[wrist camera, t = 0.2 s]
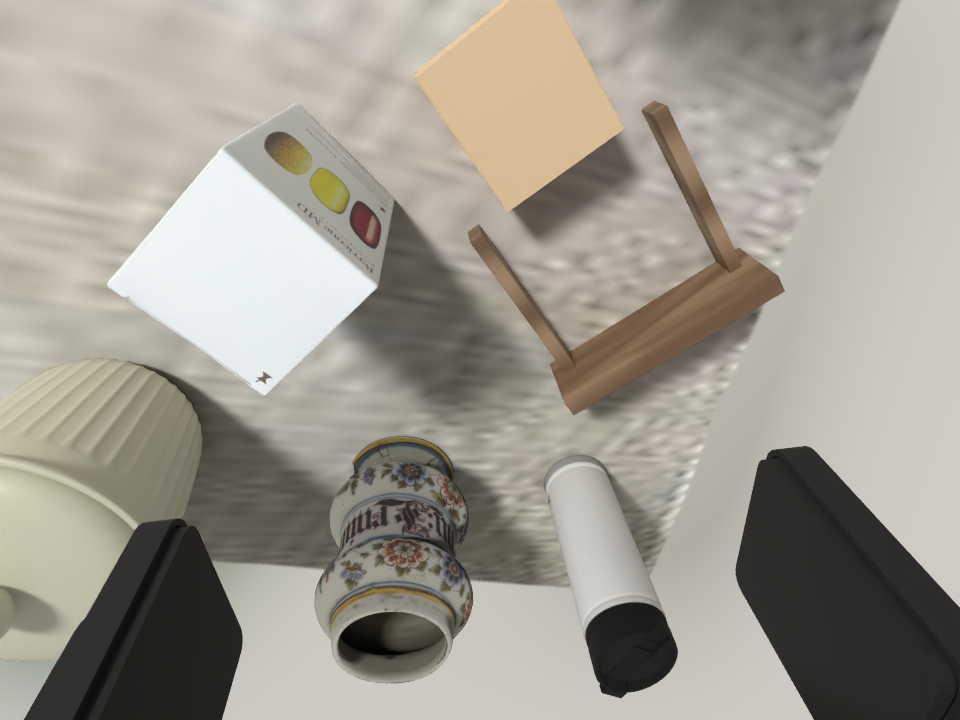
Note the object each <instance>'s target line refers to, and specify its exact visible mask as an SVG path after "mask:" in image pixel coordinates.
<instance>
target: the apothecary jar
mask: <svg viewBox="0 0 960 720" xmlns="http://www.w3.org/2000/svg"><path fill="white" fill-rule="evenodd" d="M353 465H354V475H353V476H351V477H350V479H349V481H347V482H346V483H345V484H344V486H343V487H342V488H341V489H340V490H339V492H338V493H337V495H336V497H335V499H334V501H333V503H332V506H331V510H330V519H329V521H330V529H331V533H332V536H333V538H334V540H335V542H336V544H337V546H338V547H339V548H340V550H339V556H338V557H337V558H336V559H335V560H334V561H333V562H332V563H331V564H330V565H329V566H328V567H327V568H326V570H325V571H324V573H323V574H322V576H321V578H320V580H319V582H318V585H317V588H316V592H315V612H316V615H317V619H318V621H319V624H320V626H321V627H322V629H323V631H324V632H325V633H326V635H327V636H328V637H329V638H330V639H331V646H332V653H333V656H334V658H335V660H336V662H337V663H338V665H339V666H340V667H341V668H342V669H343V670H345V671H346V672H347V673H349V674H351V675H352V676H354V677H357V678H360V679H362V680H366V681H370V682H375V683H403V682H409V681H414V680H417V679H420V678H423V677H425V676H427V675H429V674H431V673H432V672H434V671H435V670H436V669H438V668H439V667H440V666H441V665H442V664H443V663H444V662H445V660H446V659H447V658H448V656H449V653H450V651H451V648H452V641H453V639H454V638H455V637H456V636H457V635H458V633H459V632H460V631H461V630H462V629H463V627H464V626H465V624H466V622H467V620H468V618H469V616H470V613H471V609H472V605H473V592H472V586H471V583H470V580H469V577H468V575H467V573H466V571H465V570H464V568H463V567H462V566H461V564H460V563H459V562H458V561H457V560H456V559H455V552H456V551H457V549H458V548H459V546H460V545H461V543H462V542H463V540H464V537H465V535H466V531H467V527H468V510H467V505H466V502H465V499H464V497H463V495H462V493H461V492H460V490H459V488H458V487H457V486H456V485H455V484H454V483H453V470H452V466H451V463H450V461H449V459H448V458H447V456H446V455H445V454H444V453H443V452H442V451H441V450H440V449H439V448H438V447H436V446H435V445H433V444H432V443H430V442H427V441H425V440H422V439H419V438H414V437H406V436H398V437H389V438H385V439H381V440H378V441H376V442H374V443H372V444H370V445H368V446H367V447H365V448H364V449H363V450H362V451H361V452H360V453H359V454H358V455H357V456H356V458H355V459H354V461H353Z"/></svg>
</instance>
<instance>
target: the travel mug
mask: <svg viewBox="0 0 960 720" xmlns="http://www.w3.org/2000/svg"><path fill="white" fill-rule="evenodd" d="M544 487H545V491H546V495H547V498H548V503H549V506H550V510H551V514H552V518H553V521H554V525H555V529H556V533H557V536H558V540H559V544H560V548H561V551H562V555H563V559H564V563H565V567H566V570H567V574H568V578H569V582H570V585H571V589H572V593H573V596H574V600H575V604H576V608H577V611H578V615H579V619H580V623H581V627H582V630H583V633H584V638H585V640H586V643H587V646H588V648H589V654H590V658H591V661H592V665H593V669H594V673H595V676H596V678H597V680H598V682H599V683H600V688H601V692H602V693H604V694H607V695H611V696H615V697H618V698H622V697H623V696H624V695H625V694H626V693H627V692H635V691H639V690H643V689H645V688H647V687H650V686H652V685H654V684H655V683H657V682H659V681H660V680H661V679H663V678H664V677H665V676H666V675H667V674H668V673H669V672H670V671H671V669H672V668H673V666H674V664H675V662H676V659H677V655H678V650H677V646H676V643H675V640H674V638H673V636H672V633H671V631H670V628H669V627H668V624H667V621H666V617H665V614H664V612H663V610H662V608H661V605H660V602H659V599H658V597H657V595H656V592H655V590H654V587H653V585H652V582H651V580H650V577H649V575H648V573H647V570H646V568H645V565H644V563H643V560H642V558H641V556H640V553H639V551H638V548H637V546H636V543H635V541H634V539H633V536H632V534H631V531H630V529H629V526H628V524H627V522H626V519H625V517H624V514H623V512H622V509H621V507H620V505H619V502H618V500H617V497H616V495H615V492H614V490H613V488H612V485H611V483H610V480H609V478H608V475H607V473H606V471H605V468H604V467H603V465H602V464H601V463H600V462H599V461H598V460H596V459H594V458H592V457H588V456H583V455H578V456H570V457H567V458H564V459H562V460H560V461H558V462H557V463H556V464H554V465H553V466H552V467H551V468H550V469H549V471H548V472H547V474H546V477H545V480H544Z"/></svg>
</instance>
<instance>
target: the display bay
mask: <svg viewBox="0 0 960 720" xmlns="http://www.w3.org/2000/svg"><path fill="white" fill-rule="evenodd" d="M642 112H643V114H644V116H645V118H646V120H647V122H648V124H649V126H650V128H651V130H652V132H653V134H654V136H655V138H656V140H657V142H658V144H659V146H660V149H661V151H662V153H663V155H664V157H665V159H666V161H667V163H668V165H669V167H670V169H671V171H672V173H673V175H674V177H675V179H676V181H677V183H678V185H679V187H680V189H681V191H682V193H683V195H684V197H685V199H686V201H687V203H688V205H689V207H690V209H691V211H692V213H693V215H694V217H695V219H696V221H697V224H698V226H699V228H700V230H701V232H702V234H703V236H704V238H705V240H706V242H707V244H708V246H709V248H710V250H711V252H712V254H713V256H714V258H715V260H716V262H715V263H714V264H712V265H710V266H709V267H707V268H705V269H704V270H702V271H701V272H699V273H697V274H696V275H694V276H693V277H691V278H689V279H688V280H686V281H684V282H683V283H681V284H680V285H678V286H676V287H675V288H673V289H671V290H670V291H668V292H667V293H665V294H663V295H662V296H660V297H658V298H657V299H655V300H654V301H652V302H650V303H649V304H647V305H645V306H644V307H642V308H641V309H639V310H637V311H636V312H634V313H633V314H631V315H629V316H628V317H626V318H624V319H623V320H621V321H620V322H618V323H616V324H615V325H613V326H611V327H610V328H608V329H607V330H605V331H603V332H602V333H600V334H598V335H597V336H595V337H594V338H592V339H590V340H589V341H587V342H585V343H584V344H582V345H581V346H579V347H577V348H576V349H574V350H573V351H571V352H569V351H568V350H567V348H566V347H565V345H564V344H563V342H562V341H561V340H560V338H559V337H558V335H557V334H556V333H555V331H554V330H553V328H552V327H551V326H550V324H549V323H548V321H547V320H546V319H545V317H544V316H543V314H542V313H541V311H540V310H539V309H538V307H537V306H536V304H535V303H534V302H533V300H532V299H531V297H530V296H529V295H528V293H527V292H526V290H525V289H524V288H523V286H522V285H521V283H520V282H519V280H518V279H517V278H516V276H515V275H514V273H513V272H512V271H511V269H510V268H509V266H508V265H507V264H506V262H505V261H504V259H503V258H502V257H501V255H500V254H499V252H498V251H497V249H496V248H495V247H494V245H493V244H492V242H491V241H490V240H489V238H488V237H487V235H486V234H485V233H484V231H483V230H482V228H481V227H480V226H479V224H478V225H477V226H476V227H474V228H473V229H471V230H470V231H468V235H469V239H470V243H471V244H472V246H473V247H474V248H475V250H476V251H477V253H478V254H479V255H480V257H481V258H482V259H483V261H484V262H485V263H486V265H487V266H488V268H489V269H490V270H491V272H492V273H493V274H494V276H495V277H496V278H497V280H498V281H499V283H500V284H501V285H502V287H503V288H504V289H505V291H506V292H507V294H508V295H509V296H510V298H511V299H512V300H513V302H514V303H515V304H516V306H517V307H518V309H519V310H520V311H521V313H522V314H523V315H524V317H525V318H526V320H527V321H528V322H529V324H530V325H531V326H532V328H533V329H534V330H535V332H536V333H537V335H538V336H539V337H540V339H541V340H542V341H543V343H544V344H545V345H546V347H547V348H548V350H549V351H550V352H551V354H552V355H553V356H554V358H555V359H556V361H555V362H553V363H551V364H550V366H551V368H552V371H553V374H554V376H555V379H556V382H557V384H558V387H559V390H560V392H561V395H562V398H563V400H564V403H565V404H566V406H567V407H568V408H569V410H570V411H571V412H572V414H573V415H575V414H577V413H579V412H580V411H582V410H584V409H585V408H587V407H589V406H591V405H592V404H594V403H596V402H597V401H599V400H601V399H602V398H604V397H606V396H608V395H609V394H611V393H613V392H614V391H616V390H618V389H619V388H621V387H623V386H625V385H626V384H628V383H630V382H631V381H633V380H635V379H636V378H638V377H640V376H642V375H643V374H645V373H647V372H648V371H650V370H652V369H654V368H655V367H657V366H659V365H660V364H662V363H664V362H665V361H667V360H669V359H671V358H672V357H674V356H676V355H677V354H679V353H681V352H682V351H684V350H686V349H688V348H689V347H691V346H693V345H694V344H696V343H698V342H699V341H701V340H703V339H705V338H706V337H708V336H710V335H711V334H713V333H715V332H716V331H718V330H720V329H722V328H723V327H725V326H727V325H728V324H730V323H732V322H734V321H735V320H737V319H739V318H740V317H742V316H744V315H745V314H747V313H749V312H751V311H752V310H754V309H756V308H757V307H759V306H761V305H762V304H764V303H766V302H768V301H769V300H771V299H773V298H774V297H776V296H778V295H779V294H781V293H783V292H784V289H783V286H782V284H781V281H780V279H779V277H778V275H776V274H775V273H773V272H772V271H771V270H769V269H768V268H766V267H765V266H764V265H762V264H761V263H759V262H758V261H757V260H755V259H754V258H752V257H751V256H750V255H748V254H747V253H745V252H744V251H743V250H741V249H740V248H738V249H736V250H734V247H733V245H732V243H731V241H730V239H729V237H728V235H727V233H726V230H725V228H724V226H723V224H722V222H721V220H720V218H719V215H718V213H717V211H716V209H715V207H714V205H713V203H712V201H711V198H710V196H709V194H708V192H707V190H706V188H705V186H704V183H703V181H702V179H701V177H700V175H699V173H698V171H697V169H696V166H695V164H694V162H693V160H692V158H691V156H690V154H689V151H688V149H687V147H686V145H685V143H684V141H683V139H682V137H681V134H680V132H679V130H678V128H677V126H676V124H675V122H674V119H673V117H672V115H671V113H670V111H669V109H668V107H667V106H666V105H664V104H661V103H658V102H655V101H654V102H652V103H651V104H649V105H648V106H647V107H645V108H644V109H642Z"/></svg>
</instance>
